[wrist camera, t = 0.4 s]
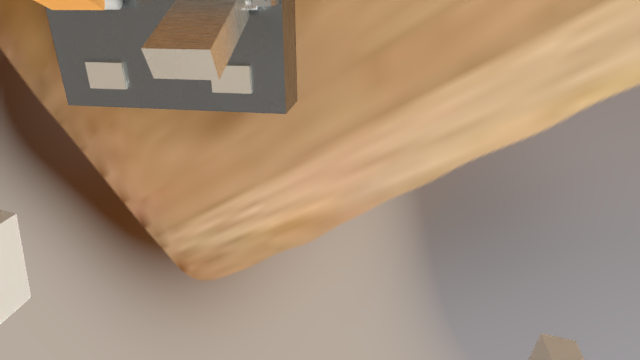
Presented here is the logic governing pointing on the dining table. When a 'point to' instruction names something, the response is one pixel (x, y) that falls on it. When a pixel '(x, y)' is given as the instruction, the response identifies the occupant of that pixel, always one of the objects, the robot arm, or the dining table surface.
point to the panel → (174, 92)
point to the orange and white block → (82, 4)
